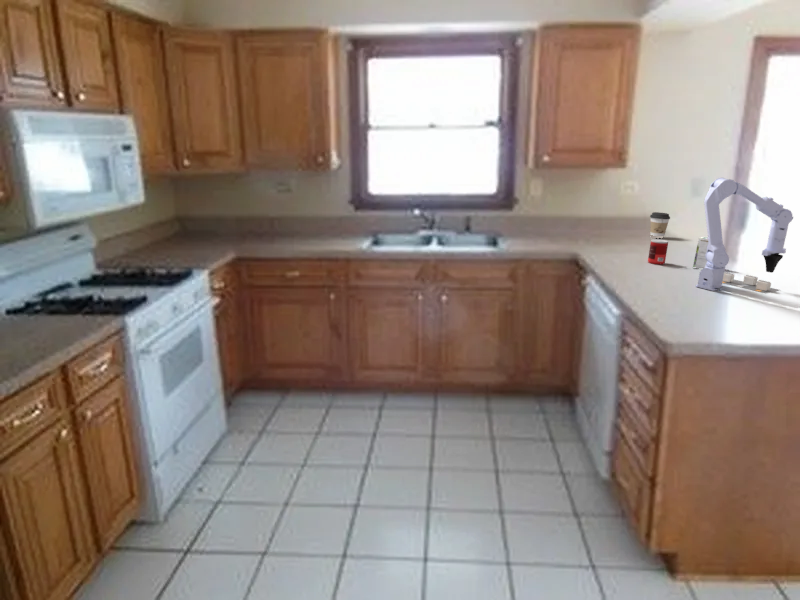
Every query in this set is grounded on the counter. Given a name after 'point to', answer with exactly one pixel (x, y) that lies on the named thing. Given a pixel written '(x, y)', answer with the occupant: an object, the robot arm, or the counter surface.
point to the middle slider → (750, 280)
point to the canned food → (657, 251)
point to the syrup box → (701, 253)
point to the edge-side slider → (763, 285)
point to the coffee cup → (659, 223)
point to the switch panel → (748, 286)
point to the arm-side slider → (728, 277)
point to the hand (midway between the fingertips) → (769, 271)
